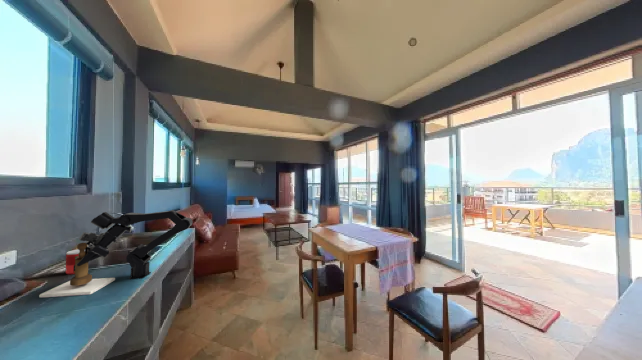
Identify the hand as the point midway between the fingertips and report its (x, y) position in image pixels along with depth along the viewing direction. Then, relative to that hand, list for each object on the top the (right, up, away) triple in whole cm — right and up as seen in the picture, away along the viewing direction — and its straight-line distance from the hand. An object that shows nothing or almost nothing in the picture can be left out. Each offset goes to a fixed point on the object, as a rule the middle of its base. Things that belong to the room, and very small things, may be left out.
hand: (77, 264), depth 93 cm
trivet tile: (0, -11, +1) cm, 11 cm away
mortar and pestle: (+1, -9, +1) cm, 9 cm away
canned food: (-21, -11, +17) cm, 29 cm away
